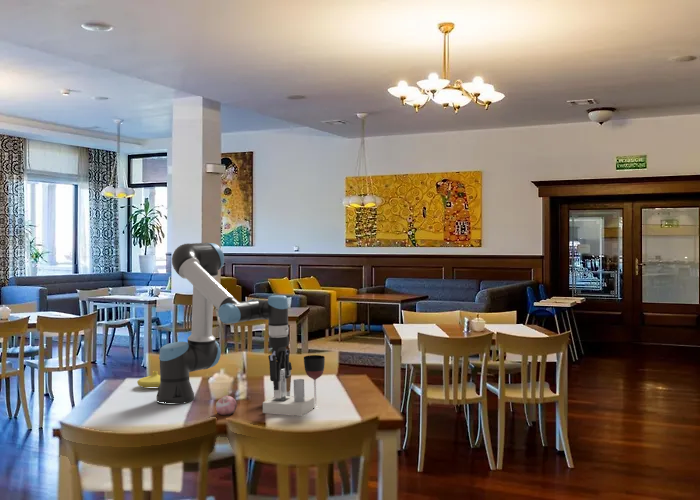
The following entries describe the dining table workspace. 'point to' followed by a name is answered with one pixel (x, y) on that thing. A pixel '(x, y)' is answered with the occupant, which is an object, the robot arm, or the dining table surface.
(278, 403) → the socket block
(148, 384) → the yellow knobbed lid
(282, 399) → the pipe
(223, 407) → the red onion
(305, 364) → the wineglass
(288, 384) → the coffee cup
